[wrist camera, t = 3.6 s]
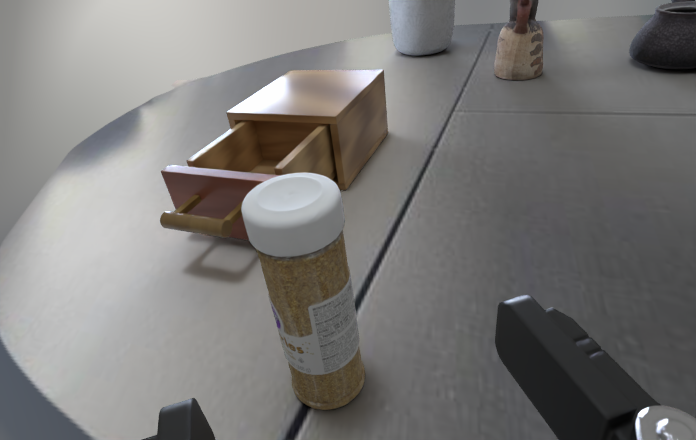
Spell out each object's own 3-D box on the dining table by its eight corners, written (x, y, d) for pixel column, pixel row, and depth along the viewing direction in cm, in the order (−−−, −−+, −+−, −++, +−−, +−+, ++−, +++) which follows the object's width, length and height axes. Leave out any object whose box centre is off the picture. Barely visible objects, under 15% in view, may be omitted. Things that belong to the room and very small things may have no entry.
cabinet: (346, 190, 46) (336, 116, 42) (244, 180, 51) (225, 112, 47) (388, 133, 57) (383, 69, 53) (301, 128, 62) (290, 70, 57)
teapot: (768, 72, 59) (802, -11, 54) (636, 75, 64) (654, -1, 58) (718, 37, 74) (740, -31, 68) (613, 42, 79) (626, -22, 73)
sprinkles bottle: (280, 376, 28) (222, 193, 21) (339, 339, 30) (306, 159, 23) (319, 429, 25) (268, 235, 17) (382, 383, 27) (360, 191, 19)
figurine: (544, 67, 72) (555, -16, 65) (538, 81, 67) (549, -8, 60) (498, 66, 75) (504, -14, 68) (489, 80, 70) (495, -5, 63)
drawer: (264, 279, 35) (244, 212, 31) (152, 257, 39) (124, 196, 35) (347, 171, 48) (340, 116, 44) (257, 164, 52) (244, 112, 49)
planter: (399, 63, 84) (396, -2, 77) (386, 48, 94) (382, -10, 88) (463, 53, 84) (465, -12, 78) (443, 39, 94) (443, -19, 88)
